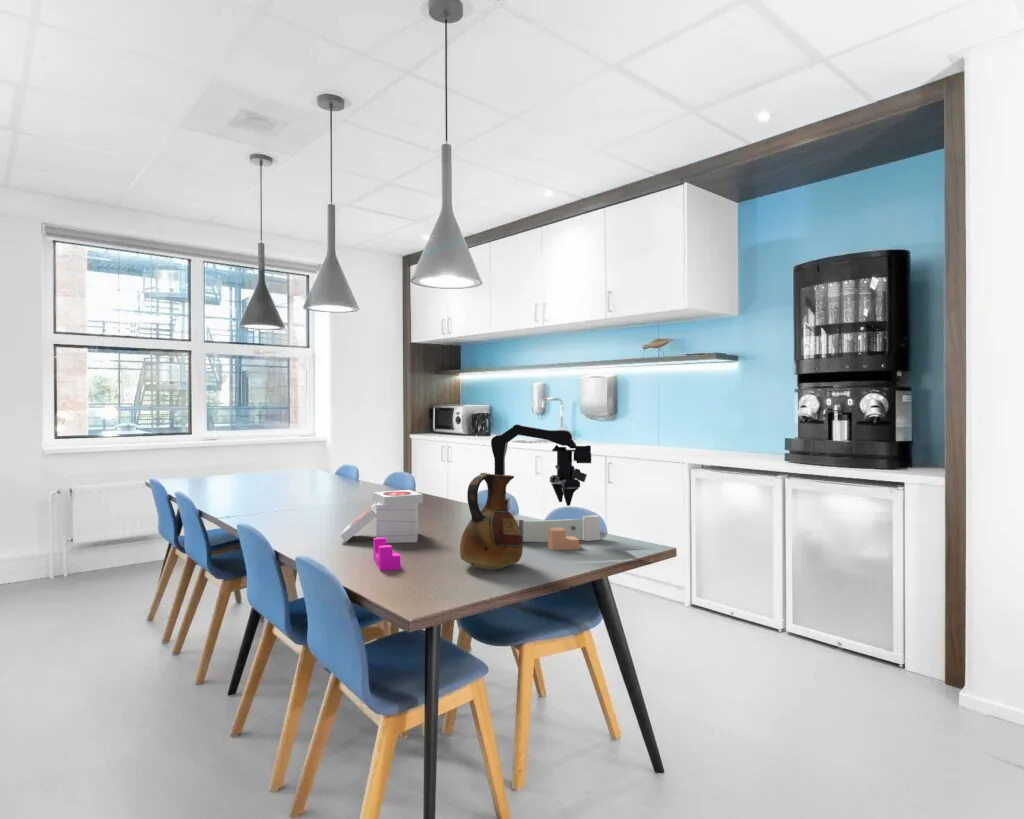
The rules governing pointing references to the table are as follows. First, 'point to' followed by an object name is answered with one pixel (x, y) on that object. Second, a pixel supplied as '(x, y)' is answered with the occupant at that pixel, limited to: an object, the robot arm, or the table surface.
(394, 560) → the toy block
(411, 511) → the pizza boxes
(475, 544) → the ceramic pitcher
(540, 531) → the door
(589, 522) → the white small block
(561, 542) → the tan stair step
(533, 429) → the robot arm
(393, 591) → the table surface
